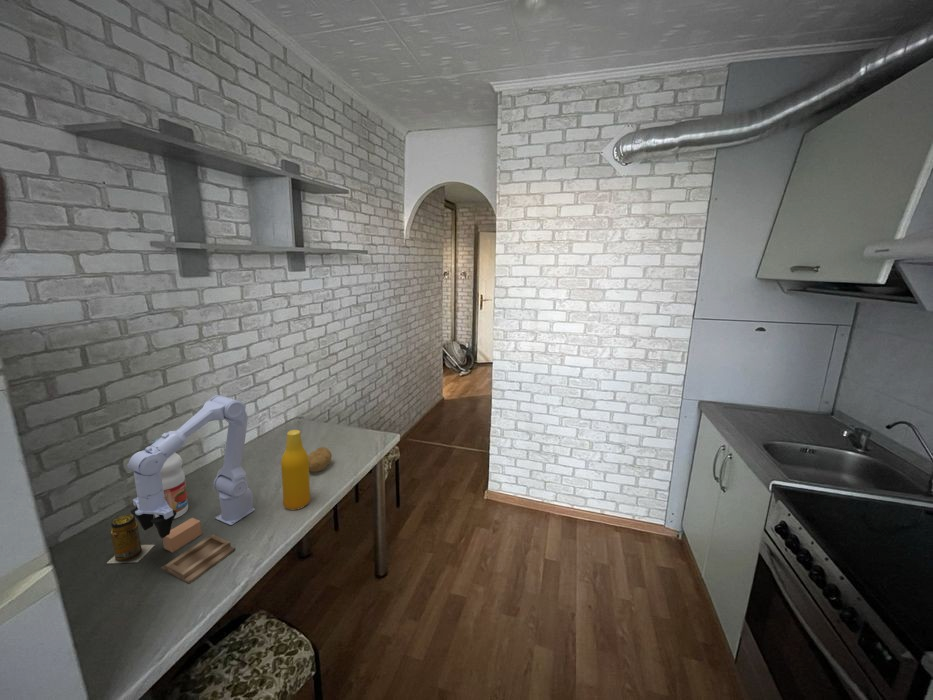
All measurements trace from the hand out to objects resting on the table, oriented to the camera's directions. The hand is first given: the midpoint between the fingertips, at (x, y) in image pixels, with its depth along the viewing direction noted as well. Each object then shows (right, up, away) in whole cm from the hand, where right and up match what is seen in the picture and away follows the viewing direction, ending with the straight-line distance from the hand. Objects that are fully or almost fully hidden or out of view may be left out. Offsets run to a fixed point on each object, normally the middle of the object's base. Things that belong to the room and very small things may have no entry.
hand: (156, 531), depth 111 cm
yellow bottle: (+27, -4, +31) cm, 42 cm away
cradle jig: (+11, -10, +3) cm, 15 cm away
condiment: (-11, -9, +4) cm, 14 cm away
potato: (+26, +1, +55) cm, 61 cm away
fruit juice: (-13, -4, +22) cm, 26 cm away
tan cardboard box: (0, -8, +10) cm, 13 cm away
